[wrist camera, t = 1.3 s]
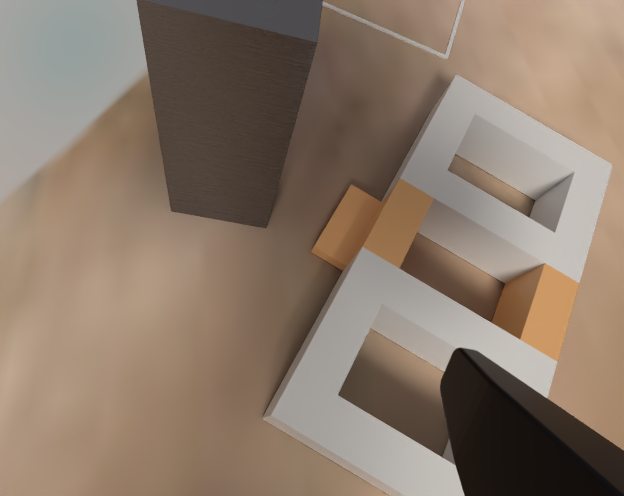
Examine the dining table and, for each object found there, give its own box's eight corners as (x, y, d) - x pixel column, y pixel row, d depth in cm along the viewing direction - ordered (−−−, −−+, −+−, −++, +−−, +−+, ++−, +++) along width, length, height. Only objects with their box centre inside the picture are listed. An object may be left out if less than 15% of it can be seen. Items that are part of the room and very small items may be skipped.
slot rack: (459, 537, 21) (503, 554, 18) (224, 396, 22) (227, 389, 18) (570, 193, 30) (612, 164, 27) (404, 96, 31) (426, 56, 27)
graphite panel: (265, 228, 25) (317, 42, 13) (171, 211, 24) (135, -2, 13) (273, 180, 26) (326, -30, 14) (183, 162, 26) (162, -74, 14)
